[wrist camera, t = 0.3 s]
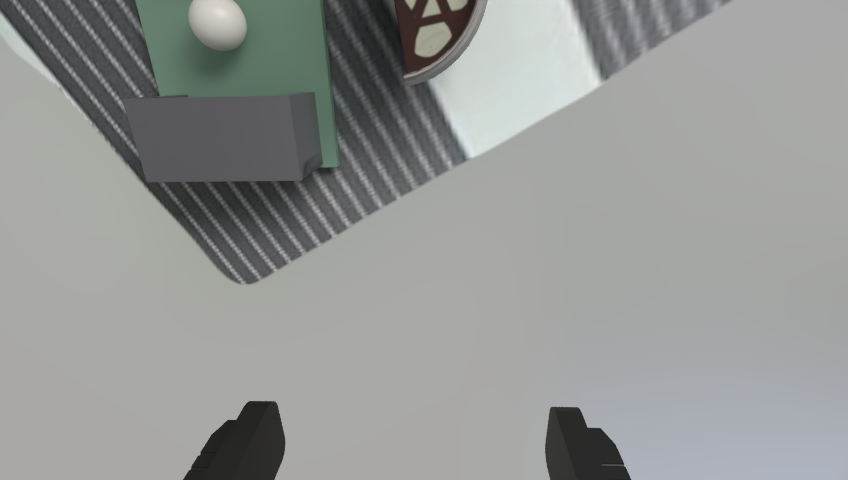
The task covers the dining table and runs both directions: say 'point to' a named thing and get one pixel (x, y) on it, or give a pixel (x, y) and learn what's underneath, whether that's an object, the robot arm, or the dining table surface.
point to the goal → (226, 137)
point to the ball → (218, 23)
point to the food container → (435, 34)
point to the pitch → (247, 57)
